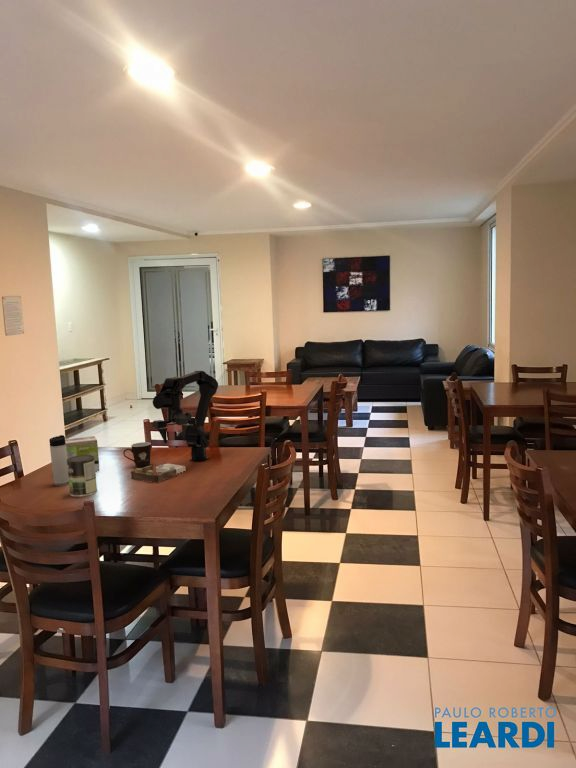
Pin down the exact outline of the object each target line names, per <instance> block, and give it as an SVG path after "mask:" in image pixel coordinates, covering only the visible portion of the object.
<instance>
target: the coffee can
mask: <svg viewBox="0 0 576 768" xmlns="http://www.w3.org/2000/svg"><path fill="white" fill-rule="evenodd" d="M67 466H68V475H69V484H68V485H69V494H70V496H71V497H74V498H76V497H77V498H81V497H82V498H83V497H88V496H92V495H94V494H96V493H98V487H97V477H96V475H97V474H96V472H95V463H94V456H93V455H79V456H74V457H70V458H68V459H67Z"/></svg>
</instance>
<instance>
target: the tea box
mask: <svg viewBox="0 0 576 768" xmlns="http://www.w3.org/2000/svg"><path fill="white" fill-rule="evenodd" d="M65 442H66V450H67V459H68V458H70V457H74V456H79V455H93V456H94V463H95V473H97V472H96V471H99V472H100V459H99V445H98V439H97V438H96V436H94V435H91V436H84V437H83V436H82V437H75V438H67V439H66V438H65Z"/></svg>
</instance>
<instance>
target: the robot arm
mask: <svg viewBox="0 0 576 768" xmlns="http://www.w3.org/2000/svg"><path fill="white" fill-rule="evenodd" d="M192 383H193V384H194V383H196V385H197V386H198V390H199V391H198V392H199V400H198V403H197V407H196V408H197V409H196V411H195V416H194V417H193V416H192V413H191V412H190V411H189V412H185V413H184V410H183V409H182V408H181V396H184V393H183V392H182V391H181V390H183V389H185V386H188V385H190V384H192ZM218 387H219V382H218V380H217V379H216V378H214V377H213V376H212V375H209V373H208V374H207V372H206V371H204V370H194V371H193V372H189V373H187V374H184V375H181V376H175V377H173V376H172V377H167V378H165V379H164V381H163V384H162V387H161V389H160V391H159V392H156V393H155V396H154V397H153V400H152V405H153V408H155V409H156V410H160V409H161V410H162V409H165V411H166V412H167V417H166V418H165V419H166V420H163V419H158V420H153V421H152V428H154V429H155V430H157V431H158V432H159V433H160V436H161V439H162V440H163V442H164V444H167V442H168V439H167V437H168V435H167V431H168V428H167V426H172V425H177V426H181V433H182V435H181V436H182V439H183V441H184V442H186V444H187V447H188V448H190V450H191V451H190V455H191V456H190V457H191V458H190V459H189V461H192V462H199V463H201V462H204V461H205V460H208V459H210V458H209V457H207V447H209V445H210V441H209V439H208V438H206V431H205V428H204V427H205V422H206V419H207V416H208V415H207V414H208V412H209V407H210V402H211V398H213V396H215V394H216V393H217V390H218Z"/></svg>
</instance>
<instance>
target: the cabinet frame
mask: <svg viewBox="0 0 576 768" xmlns="http://www.w3.org/2000/svg"><path fill="white" fill-rule="evenodd" d="M130 475H131V479H132V478H134V479H133V480H137V479H139V480H138V481H143V480H144V481H143V482H148V481H152V482H151V483H154V482H159V481H161V482H163V481H162V480H164V479H167V478H170V479H172V478H171V477H173V478H175V477H177V475H178V474H176V469H172V470H169V471H166V472H163V473H158V474H155V470H154V465H152V464H150V466H147V467H144V468H135V469H134V470H131V471H130ZM174 476H175V477H174ZM167 480H168V479H167ZM164 481H165V480H164ZM159 483H160V482H159Z"/></svg>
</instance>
